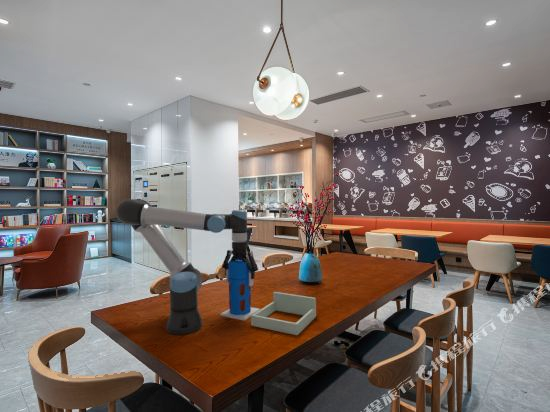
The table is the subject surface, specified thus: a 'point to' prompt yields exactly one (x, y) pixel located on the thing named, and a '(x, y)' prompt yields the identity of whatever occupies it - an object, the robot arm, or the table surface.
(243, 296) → the thermos
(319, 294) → the table surface
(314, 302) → the frame
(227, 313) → the tile
